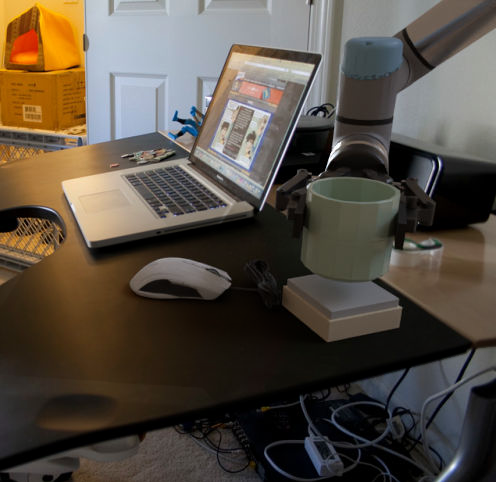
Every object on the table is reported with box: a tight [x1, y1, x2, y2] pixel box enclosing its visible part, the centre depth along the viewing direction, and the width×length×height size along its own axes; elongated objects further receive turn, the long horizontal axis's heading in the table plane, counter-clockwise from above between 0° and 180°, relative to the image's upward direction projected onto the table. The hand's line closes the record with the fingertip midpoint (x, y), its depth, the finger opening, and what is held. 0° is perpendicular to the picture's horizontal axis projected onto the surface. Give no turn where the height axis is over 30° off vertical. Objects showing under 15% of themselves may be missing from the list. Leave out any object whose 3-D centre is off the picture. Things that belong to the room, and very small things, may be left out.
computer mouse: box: [129, 257, 282, 310], centre depth 78 cm, size 10×18×4 cm, turn 80°
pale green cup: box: [300, 177, 400, 283], centre depth 68 cm, size 9×9×9 cm
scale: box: [281, 273, 403, 343], centre depth 71 cm, size 9×9×4 cm
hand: (347, 231), depth 64 cm, fingers closed on pale green cup, 9 cm apart
